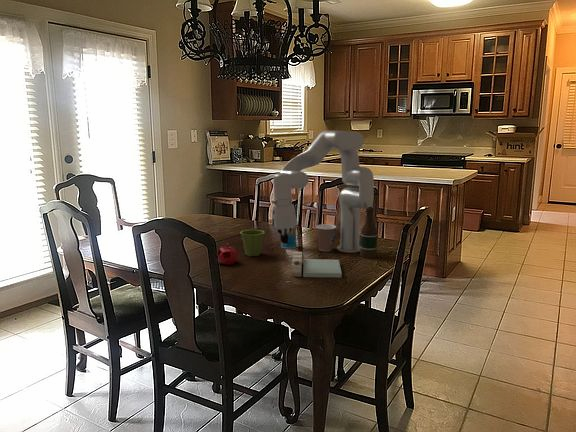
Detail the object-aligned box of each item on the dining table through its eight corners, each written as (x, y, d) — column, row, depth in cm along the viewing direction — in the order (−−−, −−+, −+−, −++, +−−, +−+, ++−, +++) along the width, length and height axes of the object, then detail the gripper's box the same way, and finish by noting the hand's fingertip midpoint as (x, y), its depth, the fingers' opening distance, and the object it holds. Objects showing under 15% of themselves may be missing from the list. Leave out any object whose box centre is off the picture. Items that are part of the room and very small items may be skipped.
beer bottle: (368, 259, 223) (370, 209, 218) (356, 256, 229) (358, 207, 224) (379, 257, 227) (381, 207, 223) (368, 253, 233) (369, 205, 229)
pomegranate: (227, 258, 225) (227, 239, 223) (243, 262, 219) (242, 242, 217) (212, 263, 217) (211, 243, 216) (227, 267, 211) (226, 247, 209)
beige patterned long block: (301, 276, 198) (301, 262, 197) (291, 276, 198) (291, 262, 197) (302, 262, 218) (302, 249, 216) (293, 262, 218) (293, 249, 217)
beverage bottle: (277, 247, 244) (277, 209, 240) (285, 244, 251) (285, 207, 247) (292, 249, 240) (292, 211, 236) (299, 246, 247) (299, 208, 243)
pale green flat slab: (303, 262, 218) (303, 259, 217) (338, 263, 217) (338, 259, 217) (303, 276, 198) (303, 272, 198) (341, 277, 197) (341, 273, 197)
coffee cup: (334, 252, 235) (335, 229, 232) (314, 251, 237) (314, 228, 234) (336, 247, 245) (337, 224, 242) (317, 246, 247) (317, 223, 244)
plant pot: (268, 252, 235) (267, 230, 233) (260, 258, 224) (260, 235, 222) (245, 250, 239) (245, 228, 236) (236, 256, 227) (236, 234, 225)
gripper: (271, 205, 197) (273, 247, 201) (302, 201, 203) (303, 242, 208) (263, 202, 203) (265, 243, 207) (294, 198, 210) (295, 238, 214)
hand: (284, 242), depth 207 cm, fingers closed
